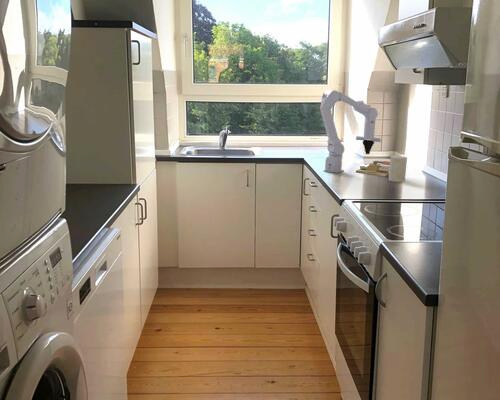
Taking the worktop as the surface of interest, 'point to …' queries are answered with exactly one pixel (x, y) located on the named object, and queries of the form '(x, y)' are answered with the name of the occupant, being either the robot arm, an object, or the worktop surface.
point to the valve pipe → (374, 168)
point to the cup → (397, 168)
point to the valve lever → (382, 162)
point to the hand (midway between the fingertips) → (367, 154)
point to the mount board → (372, 172)
